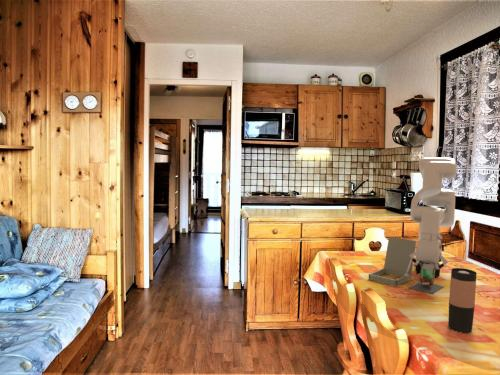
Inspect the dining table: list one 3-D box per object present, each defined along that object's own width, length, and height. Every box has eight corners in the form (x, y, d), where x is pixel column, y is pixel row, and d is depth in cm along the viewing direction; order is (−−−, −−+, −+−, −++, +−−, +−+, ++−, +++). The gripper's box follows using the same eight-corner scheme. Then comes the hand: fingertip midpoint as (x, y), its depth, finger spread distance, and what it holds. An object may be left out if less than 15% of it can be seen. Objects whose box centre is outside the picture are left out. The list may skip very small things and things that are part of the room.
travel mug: (442, 324, 137) (446, 267, 136) (463, 323, 138) (467, 267, 136) (456, 333, 129) (460, 274, 128) (477, 333, 130) (482, 274, 129)
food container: (438, 288, 170) (438, 265, 169) (422, 286, 171) (423, 264, 171) (433, 280, 181) (434, 259, 181) (419, 279, 183) (419, 258, 183)
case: (387, 271, 202) (389, 236, 201) (414, 277, 193) (416, 240, 192) (368, 279, 187) (370, 242, 186) (396, 286, 178) (398, 246, 176)
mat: (420, 281, 185) (420, 281, 185) (443, 287, 178) (443, 286, 178) (409, 288, 175) (409, 287, 175) (432, 294, 168) (432, 293, 168)
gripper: (453, 238, 172) (450, 278, 173) (413, 232, 184) (410, 270, 185) (447, 241, 167) (445, 281, 168) (406, 234, 178) (404, 273, 180)
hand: (427, 275), depth 176 cm, fingers closed on food container, 7 cm apart
